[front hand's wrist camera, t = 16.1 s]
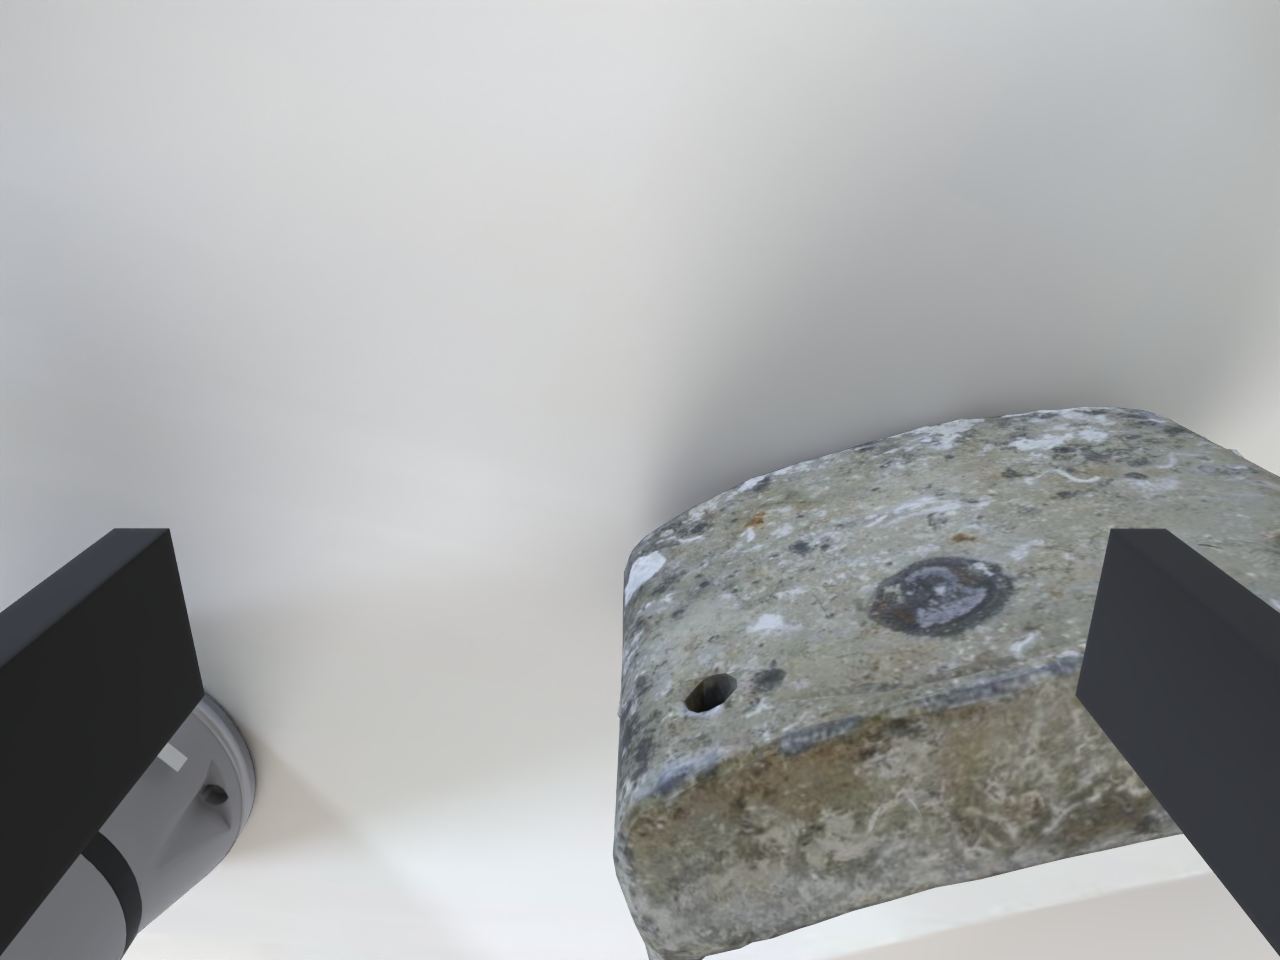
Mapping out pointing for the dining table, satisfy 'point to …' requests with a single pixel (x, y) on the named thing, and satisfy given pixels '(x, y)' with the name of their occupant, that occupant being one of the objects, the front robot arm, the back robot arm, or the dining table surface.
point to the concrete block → (896, 667)
